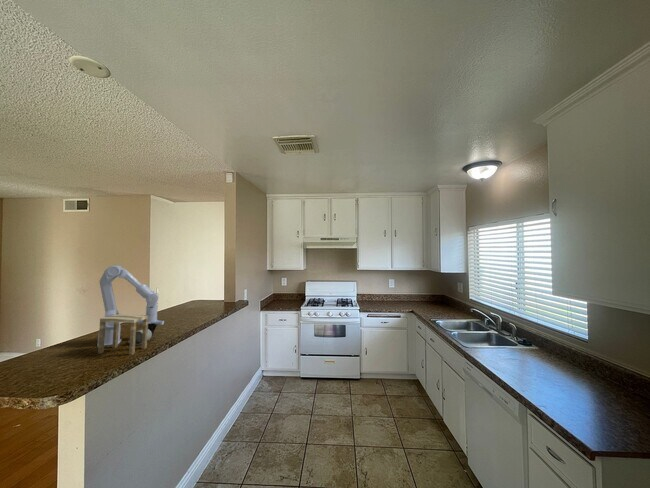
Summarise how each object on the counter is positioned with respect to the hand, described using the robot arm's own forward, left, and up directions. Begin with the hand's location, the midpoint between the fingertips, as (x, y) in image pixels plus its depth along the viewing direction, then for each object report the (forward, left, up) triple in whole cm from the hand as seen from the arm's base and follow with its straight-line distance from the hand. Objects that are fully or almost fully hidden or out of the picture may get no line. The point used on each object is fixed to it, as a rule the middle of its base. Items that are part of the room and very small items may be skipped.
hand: (150, 336), depth 153 cm
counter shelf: (-10, -17, -1) cm, 20 cm away
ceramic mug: (-5, -6, -2) cm, 8 cm away
